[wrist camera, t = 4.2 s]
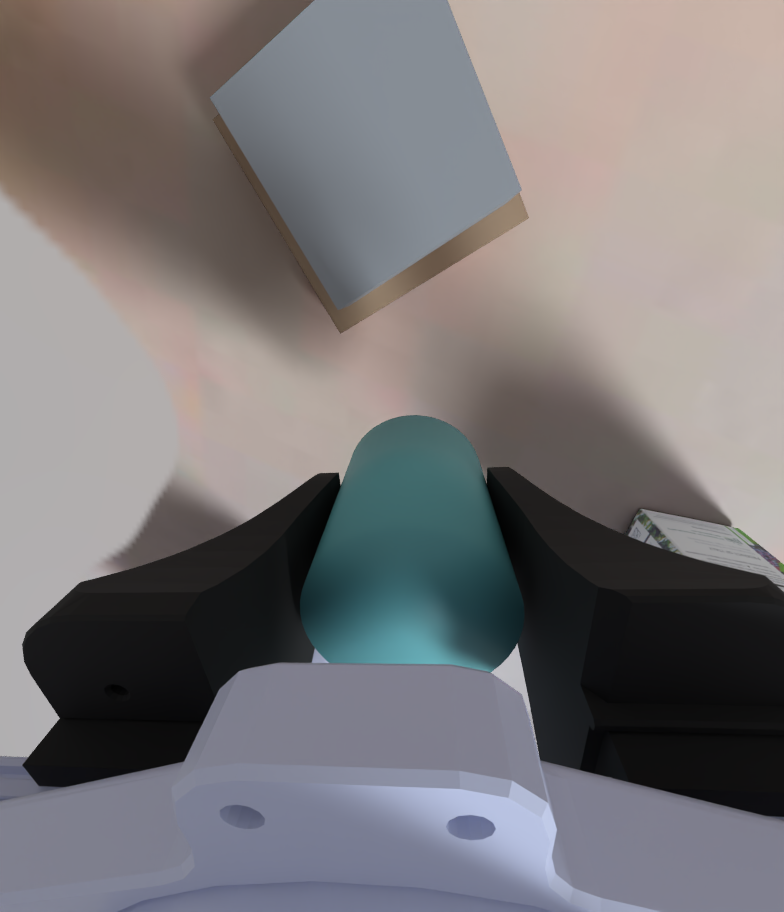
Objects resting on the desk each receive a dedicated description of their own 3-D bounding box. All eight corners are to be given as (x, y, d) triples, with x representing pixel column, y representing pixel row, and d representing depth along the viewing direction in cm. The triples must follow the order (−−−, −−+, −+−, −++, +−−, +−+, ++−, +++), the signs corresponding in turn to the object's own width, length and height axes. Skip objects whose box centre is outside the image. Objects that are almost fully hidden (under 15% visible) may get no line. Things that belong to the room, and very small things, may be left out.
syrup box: (684, 600, 24) (1007, 994, 11) (591, 582, 24) (803, 957, 11) (737, 525, 22) (1232, 910, 8) (634, 503, 22) (974, 862, 8)
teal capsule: (389, 548, 14) (370, 712, 9) (324, 452, 13) (255, 578, 8) (501, 502, 13) (557, 658, 8) (444, 390, 12) (465, 488, 6)
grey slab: (349, 305, 16) (337, 310, 14) (243, 126, 14) (209, 97, 12) (506, 203, 15) (521, 190, 12) (413, -23, 12) (411, -91, 10)
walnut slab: (349, 326, 19) (340, 333, 17) (241, 141, 16) (212, 119, 14) (514, 225, 17) (529, 218, 15) (421, -10, 14) (421, -64, 12)
